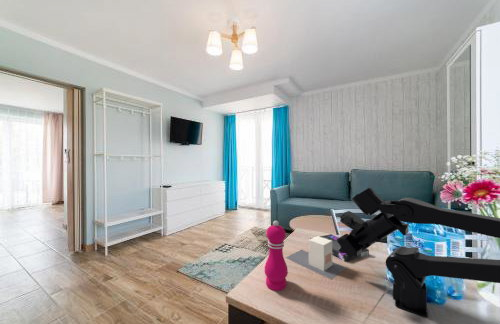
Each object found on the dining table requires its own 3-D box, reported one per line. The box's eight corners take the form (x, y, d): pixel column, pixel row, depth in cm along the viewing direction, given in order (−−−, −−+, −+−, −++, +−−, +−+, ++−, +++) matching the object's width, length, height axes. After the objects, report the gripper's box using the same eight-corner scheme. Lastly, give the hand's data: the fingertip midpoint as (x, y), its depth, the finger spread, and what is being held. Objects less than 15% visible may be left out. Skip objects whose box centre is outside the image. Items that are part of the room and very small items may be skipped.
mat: (346, 268, 70) (346, 267, 70) (331, 280, 63) (331, 279, 63) (301, 250, 84) (301, 249, 84) (285, 258, 77) (285, 257, 77)
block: (332, 265, 72) (332, 240, 72) (323, 271, 68) (323, 245, 68) (317, 259, 76) (317, 236, 76) (308, 264, 72) (308, 240, 72)
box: (369, 258, 80) (330, 239, 97) (369, 249, 80) (331, 232, 97) (345, 265, 74) (309, 244, 91) (345, 255, 74) (309, 237, 91)
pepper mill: (274, 295, 56) (274, 225, 56) (259, 282, 62) (259, 219, 62) (292, 286, 60) (292, 221, 60) (277, 275, 66) (276, 216, 66)
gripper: (368, 201, 68) (336, 224, 77) (344, 209, 56) (310, 236, 65) (395, 230, 62) (357, 251, 71) (375, 246, 50) (332, 270, 59)
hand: (340, 251), depth 66 cm, fingers closed
